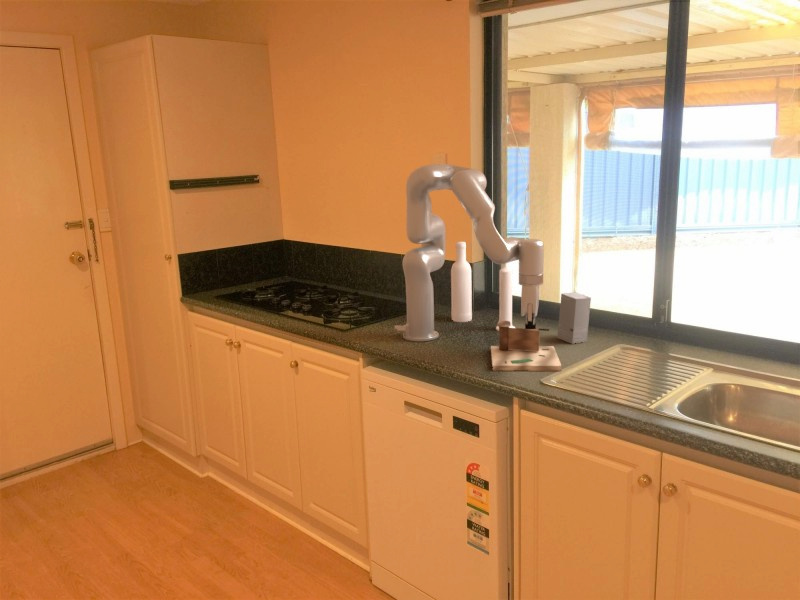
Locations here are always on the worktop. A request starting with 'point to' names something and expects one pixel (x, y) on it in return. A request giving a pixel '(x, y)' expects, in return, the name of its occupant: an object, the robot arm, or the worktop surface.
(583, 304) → the skincare box
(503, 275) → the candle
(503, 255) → the robot arm
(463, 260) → the bottle
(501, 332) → the peg
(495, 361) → the tuner plate
